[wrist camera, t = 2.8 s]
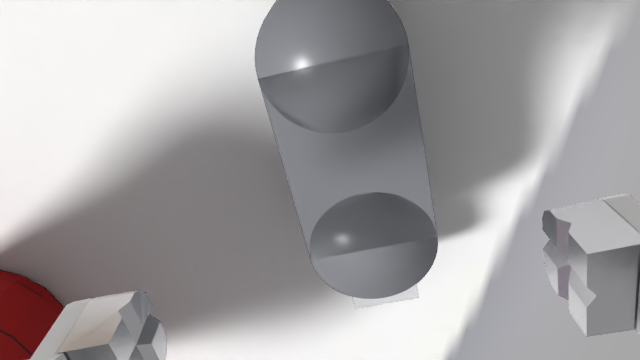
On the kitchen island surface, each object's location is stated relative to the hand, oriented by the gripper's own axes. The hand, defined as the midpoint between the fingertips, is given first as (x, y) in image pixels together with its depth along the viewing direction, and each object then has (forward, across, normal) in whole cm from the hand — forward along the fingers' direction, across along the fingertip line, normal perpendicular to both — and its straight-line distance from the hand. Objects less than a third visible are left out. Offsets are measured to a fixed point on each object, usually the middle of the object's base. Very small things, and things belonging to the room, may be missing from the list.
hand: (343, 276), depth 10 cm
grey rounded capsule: (+9, -1, 0) cm, 9 cm away
